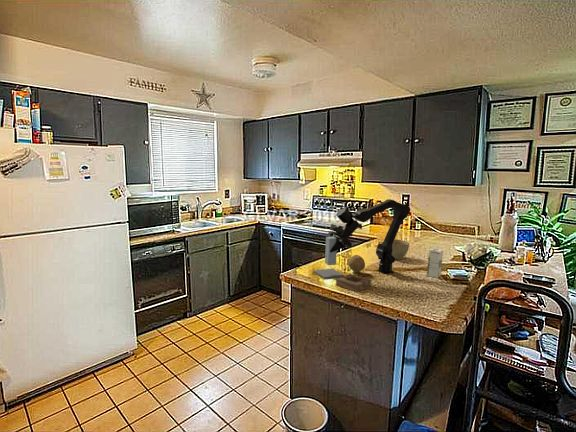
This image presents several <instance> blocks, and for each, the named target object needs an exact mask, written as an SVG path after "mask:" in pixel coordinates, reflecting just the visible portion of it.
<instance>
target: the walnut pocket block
mask: <svg viewBox="0 0 576 432" xmlns="http://www.w3.org/2000/svg"><path fill="white" fill-rule="evenodd" d="M335 279H336V281H335V286H338V287H341V288H345V289H348V290H350V291H354V292H357V293H358V292H360V291H362V290H364V289H367V288H369V287H371V286H372V279H370V278H366V277H363V276H358V275H355V274H351V273H349V274H346V275H344V276H343V277H337V278H335Z"/></svg>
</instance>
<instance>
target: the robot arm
mask: <svg viewBox="0 0 576 432" xmlns="http://www.w3.org/2000/svg"><path fill="white" fill-rule="evenodd" d="M388 209H391V210H393V212H392V213H393V214H392V215H393V219H392V220H391V224H390V226H389V227H388V231H387V232H386V235H385V237H384V239H383V240H384V241H382V242H381V243H380V242H378V244H377V246H376V248H375V253H376V256H377V259H378V260H379V264H378V268H377V271H378V272H380V273H382V274H392V273H393V274H394V272H395V271H393V264H394V263H395V261H396V259H395V258H394V257H393V256H392V251H393V250H392V244H393V242H394V239H396V237H397V234H398V232H399V231H400V228H401V225H402V222H404V220H405V219H406V218H407V217H408V216H409V215H410V213H411V207H410V206H409V205H408V204H405V203H400V202H398V201H396V200H395V199H390V198H387V199H386V200H384V201H382V202H379V203H377V204H375V205H372V206H370V207H367V208H363V209H362V208H361V209H358V210H356V211H355V212H351V211H350V210H349V208H348V207H347V206H345V207H343V208H341V209H340V210H338V211H337V212H336V214H335V215H336V217H337V218H338V219H339V221H341V222H342V224H345V225H344V226H343V225H340V224H338V225H336V224H333V223H331V224H330V227H329V232H328V233H327V234H328V237H335V238H337V239H336V243H335V244H334V246H333V247H332V248H331V250H330V252H334V251H336V250H337V251H339V250H341V249H344V248H346V247H347V248H348V249H351V247H352V246H353V243H352V242H351V240H350V239H349V238H350V237H353V236H354V235H353V233H355V231H356V230H357V229H359V230H362V229H363V224H362V223H367V221H369V220H370V219H371V218H372V217H373V216H375V215H377V214H380V213H382V212H384V211H386V210H388ZM359 222H360V223H359Z"/></svg>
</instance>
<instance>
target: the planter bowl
mask: <svg viewBox="0 0 576 432" xmlns="http://www.w3.org/2000/svg"><path fill="white" fill-rule="evenodd" d="M383 241H384V239H383ZM383 241H382V242H383ZM410 245H411V243H410V242H409V241H407V240H402V239H396V238H395V239H394V242H393V244H392V250H393V251H392V256H393V257H394V258H395V261H396V260H397V261H399V260H403V259H404V257H405V256H406V254H407V253H408V251H409V248H410Z"/></svg>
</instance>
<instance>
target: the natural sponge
mask: <svg viewBox="0 0 576 432" xmlns="http://www.w3.org/2000/svg"><path fill="white" fill-rule="evenodd" d="M347 265H348V267H349V268H350V270H352V272H353V273H355V274H359V273H360V272H361V271H363V270H364V269H365V267H366V263H365V259H364V258H363V257H362V256H361V255H359V254H353V255H352V256H350V258H349V260H348V261H347Z"/></svg>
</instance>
